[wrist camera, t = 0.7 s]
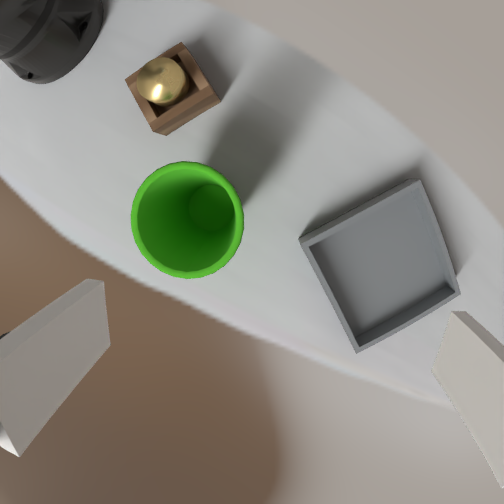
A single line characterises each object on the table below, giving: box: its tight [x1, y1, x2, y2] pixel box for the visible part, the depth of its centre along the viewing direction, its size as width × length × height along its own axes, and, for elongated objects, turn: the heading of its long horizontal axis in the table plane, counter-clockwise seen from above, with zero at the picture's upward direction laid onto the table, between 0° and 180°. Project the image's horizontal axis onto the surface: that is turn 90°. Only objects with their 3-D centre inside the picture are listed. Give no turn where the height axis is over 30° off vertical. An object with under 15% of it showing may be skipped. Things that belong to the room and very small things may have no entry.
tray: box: [299, 179, 461, 354], centre depth 33 cm, size 14×14×3 cm
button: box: [137, 57, 189, 107], centre depth 27 cm, size 4×4×3 cm
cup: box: [131, 161, 244, 279], centre depth 29 cm, size 9×9×11 cm
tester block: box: [125, 42, 221, 136], centre depth 30 cm, size 7×7×4 cm
